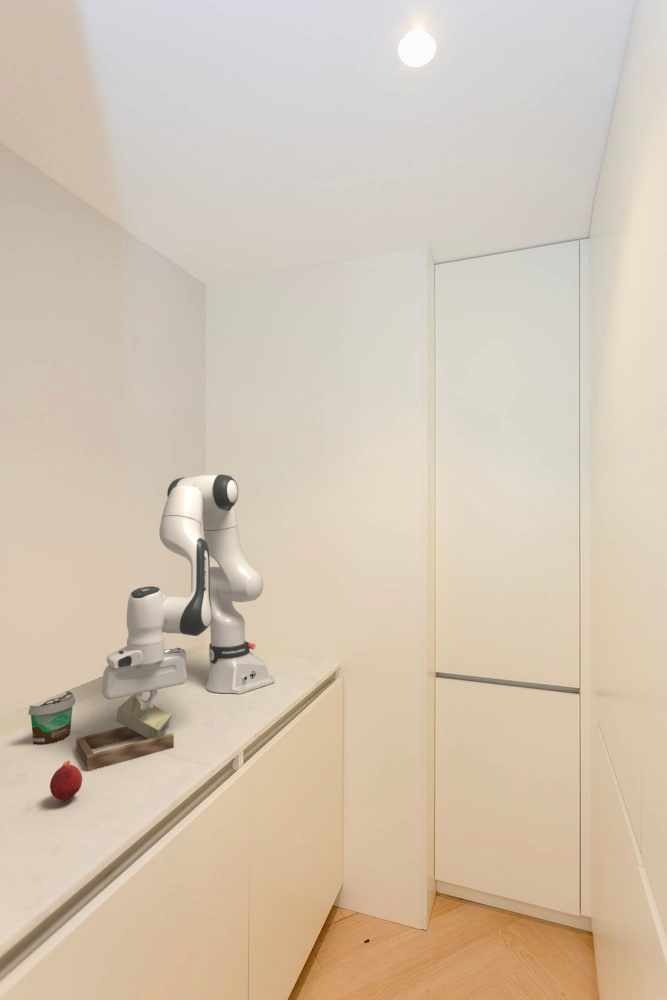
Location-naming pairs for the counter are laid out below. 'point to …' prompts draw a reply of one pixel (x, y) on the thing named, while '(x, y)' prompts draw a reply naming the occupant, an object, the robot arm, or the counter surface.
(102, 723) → the counter surface
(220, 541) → the robot arm
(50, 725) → the food container
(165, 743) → the u rest
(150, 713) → the skincare box
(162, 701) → the counter surface
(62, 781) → the red pomegranate
